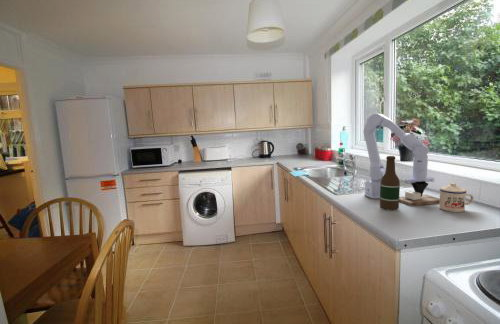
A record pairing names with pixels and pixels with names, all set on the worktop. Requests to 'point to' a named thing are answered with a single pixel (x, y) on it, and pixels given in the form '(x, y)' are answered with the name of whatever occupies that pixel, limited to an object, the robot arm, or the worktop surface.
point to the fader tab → (412, 195)
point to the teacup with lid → (453, 198)
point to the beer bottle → (390, 186)
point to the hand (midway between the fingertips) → (418, 196)
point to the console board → (424, 200)
